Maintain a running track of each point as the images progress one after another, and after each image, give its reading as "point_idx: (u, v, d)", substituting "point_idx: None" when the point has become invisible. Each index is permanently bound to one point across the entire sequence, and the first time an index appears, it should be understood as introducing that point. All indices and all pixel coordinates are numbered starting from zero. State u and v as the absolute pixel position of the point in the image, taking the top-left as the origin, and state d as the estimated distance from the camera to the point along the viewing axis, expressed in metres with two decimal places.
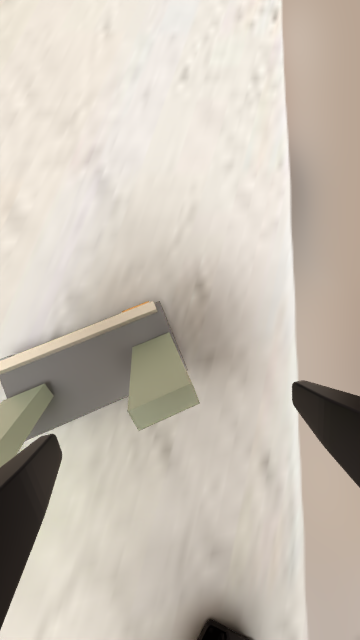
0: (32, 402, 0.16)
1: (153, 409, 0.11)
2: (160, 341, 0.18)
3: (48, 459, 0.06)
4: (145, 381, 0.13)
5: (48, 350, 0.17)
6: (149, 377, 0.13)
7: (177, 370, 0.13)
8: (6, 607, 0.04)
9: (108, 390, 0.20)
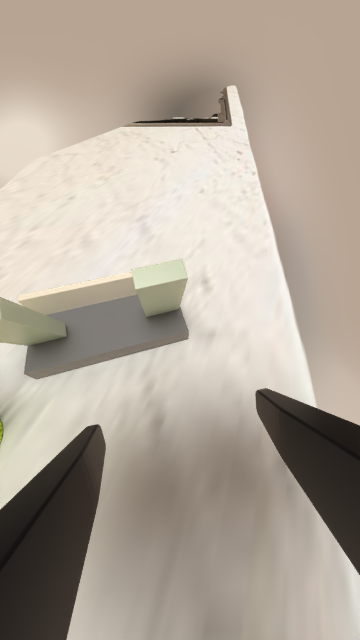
0: (52, 319, 0.19)
1: (150, 273, 0.14)
2: None
3: (97, 448, 0.06)
4: None
5: (80, 287, 0.22)
6: None
7: None
8: (77, 587, 0.04)
9: (113, 339, 0.22)
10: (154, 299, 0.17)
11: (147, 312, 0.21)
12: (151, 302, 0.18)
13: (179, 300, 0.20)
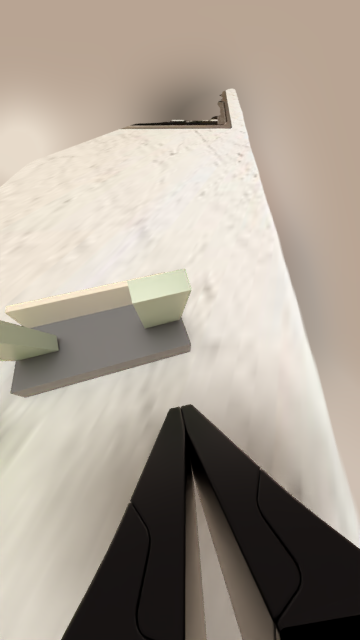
0: (41, 333, 0.18)
1: (149, 285, 0.13)
2: None
3: None
4: None
5: (73, 296, 0.20)
6: None
7: None
8: None
9: (109, 353, 0.20)
10: (153, 312, 0.16)
11: (146, 324, 0.19)
12: (150, 315, 0.16)
13: (181, 311, 0.18)
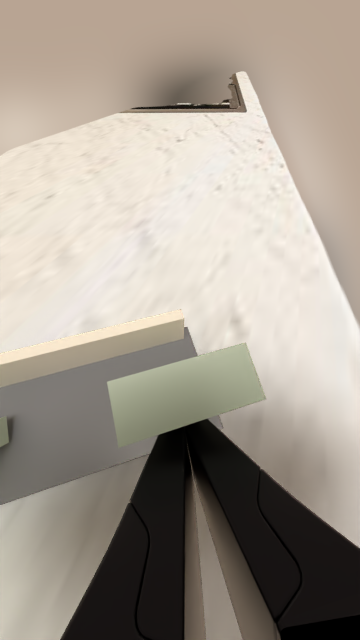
0: None
1: (161, 390, 0.05)
2: None
3: None
4: None
5: (32, 355, 0.12)
6: None
7: None
8: (198, 552, 0.05)
9: (92, 447, 0.12)
10: None
11: None
12: None
13: None
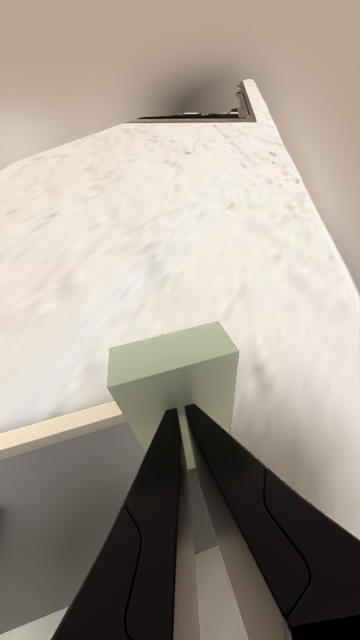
0: None
1: (149, 350, 0.06)
2: None
3: None
4: None
5: (23, 441, 0.10)
6: None
7: None
8: None
9: (95, 554, 0.10)
10: None
11: None
12: None
13: (226, 430, 0.09)
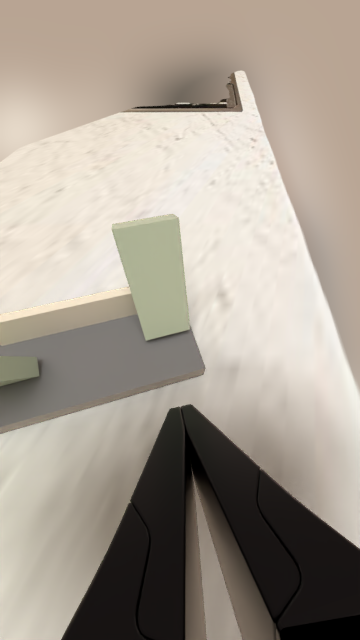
0: (13, 359, 0.14)
1: (133, 222, 0.12)
2: None
3: None
4: None
5: (57, 308, 0.16)
6: None
7: None
8: None
9: (103, 380, 0.16)
10: (145, 277, 0.13)
11: (144, 322, 0.16)
12: (143, 286, 0.14)
13: (183, 295, 0.15)
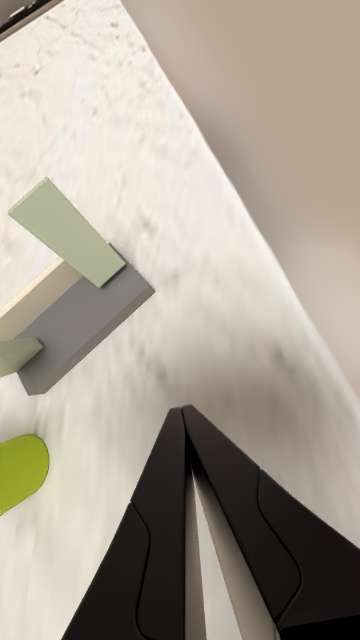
0: (16, 340, 0.19)
1: (21, 200, 0.15)
2: None
3: None
4: None
5: (22, 296, 0.20)
6: None
7: None
8: None
9: (86, 328, 0.21)
10: (60, 238, 0.17)
11: (87, 274, 0.20)
12: (64, 246, 0.17)
13: (100, 238, 0.18)
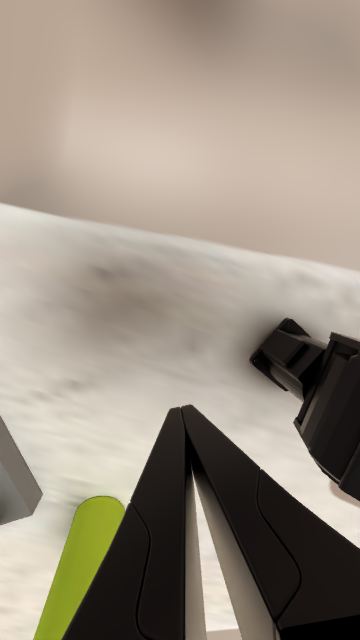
0: None
1: None
2: None
3: None
4: None
5: None
6: None
7: None
8: None
9: None
10: None
11: None
12: None
13: None
